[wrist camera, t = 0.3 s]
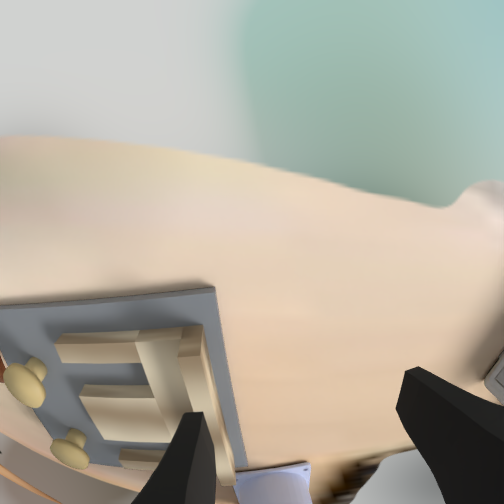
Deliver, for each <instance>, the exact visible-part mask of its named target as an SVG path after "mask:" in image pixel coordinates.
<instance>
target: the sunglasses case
mask: <svg viewBox="0 0 504 504" xmlns="http://www.w3.org/2000/svg"><path fill="white" fill-rule="evenodd" d="M5 370H6V368H5V366H4V364H3V361H2V359H1V357H0V382H2V383H5V382H4V379H3V373H4V371H5Z"/></svg>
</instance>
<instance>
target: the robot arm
mask: <svg viewBox="0 0 504 504" xmlns="http://www.w3.org/2000/svg"><path fill="white" fill-rule="evenodd" d="M396 411H397V413H398V415H399V418H400V420H401V422H402V424H403V426H404V428H405V430H406V432H407V433H408V435H409V437H410V438H411V440H412V441H413V443H414V444H415V446H416V447H417V449H418V451H419V452H420V454H421V455H422V457H423V458H424V460H425V461H426V463H427V465H428V466H429V467H430V469H431V471H432V473H433V475H434V477H435V479H436V481H437V483H438V486H439V488H440V490H441V492H442V495H443V498H444V501H445V503H446V504H504V406H501V405H497V404H495V403H492V402H489V401H487V400H484V399H482V398H480V397H477V396H475V395H473V394H471V393H469V392H467V391H465V390H463V389H461V388H459V387H457V386H455V385H453V384H451V383H449V382H447V381H445V380H444V379H442V378H440V377H438V376H436V375H434V374H432V373H431V372H429V371H427V370H425V369H423V368H421V367H419V366H418V367H415V368H412V369H409V370H407V371H405V374H404V378H403V382H402V386H401V390H400V394H399V398H398V402H397V405H396ZM310 470H311V465H310V463H309V462H305V463H300V464H295V465H290V466H284V467H278V468H271V469H264V470H257V471H248V472H239V473H235V475H236V485H233V488H234V491H235V493H236V496H237V499H238V501H239V504H312V501H311V497H310V494H309V481H310ZM215 490H216V460H215V448H214V444H213V441H212V438H211V435H210V432H209V429H208V426H207V422H206V419H205V416H204V413H203V411H202V412H186V413H184V414H183V415H182V418H181V420H180V423H179V425H178V427H177V430H176V432H175V434H174V436H173V438H172V440H171V442H170V444H169V446H168V448H167V450H166V452H165V454H164V455H163V457H162V459H161V461H160V463H159V464H158V466H157V468H156V469H155V471H154V472H153V474H152V475H151V477H150V479H149V480H148V482H147V483H146V485H145V486H144V487H143V489H142V490H141V492H140V493H139V494H138V495H137V497H136V498H135V499H134V501H133V502H132V503H131V504H215Z"/></svg>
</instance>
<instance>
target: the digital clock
mask: <svg viewBox="0 0 504 504" xmlns="http://www.w3.org/2000/svg"><path fill="white" fill-rule="evenodd" d="M484 384H485V386H486V388H487V389H488V390H489V391H490V392H491V393H492V394H493V395H494V396H495V397H496V398H497V399H498V400H499V401H500V402H501V403H502V404H503V405H504V350H503V352H502V353H501V355H500V356H499V360H498V361H497V363H496V364H495V365H494V367H493V368H492V369H491V370H490V372H489V373H488V374H487V376H486V378H485V380H484Z"/></svg>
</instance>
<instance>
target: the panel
mask: <svg viewBox="0 0 504 504" xmlns="http://www.w3.org/2000/svg"><path fill="white" fill-rule="evenodd" d="M54 345H55V348H56V350H57V352H58V355H59V357H60V359H61V361H62V363H93V364H107V363H142V365H143V368H144V371H145V374H146V376H147V379H148V382H149V384H150V385H88V384H85V385H84V387H83V389H82V391H81V393H80V395H79V398H80V399H81V401H82V403H83V405H84V407H85V408H86V410H87V412H88V414H89V415H90V417H91V419H92V420H93V422H94V424H95V425H96V427H97V429H98V430H99V432H100V433H101V435H102V437H103V438H104V440H114V441H129V442H155V443H170V442H171V440H172V438H173V436H174V434H175V432H176V430H177V427H178V425H179V423H180V420H181V418H182V415H183V414H184V413H186V412H202V411H203V413H204V416H205V419H206V422H207V426H208V429H209V432H210V435H211V438H212V441H213V444H214V448H215V460H216V474H217V476H218V479H219V481H220V484H221V486H233V485H236V475H235V463H234V455H233V451H232V447H231V444H230V440H229V436H228V432H227V429H226V425H225V421H224V417H223V413H222V409H221V405H220V400H219V396H218V392H217V388H216V383H215V379H214V374H213V370H212V365H211V361H210V356H209V351H208V347H207V342H206V337H205V332H204V327H203V325H194V326H184V327H173V328H161V329H148V330H133V331H116V332H94V333H62V335H61V336H60V337H59V338H58V339H57V341H56V342H55V343H54ZM165 452H166V450H137V449H122V448H121V451H120V455H119V459H118V460H119V462H120V463H121V464H122V466H123V467H124V468H125V469H136V470H152V471H155V469H156V468H157V466H158V464H159V463H160V461H161V459H162V457H163V455H164V454H165Z"/></svg>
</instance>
